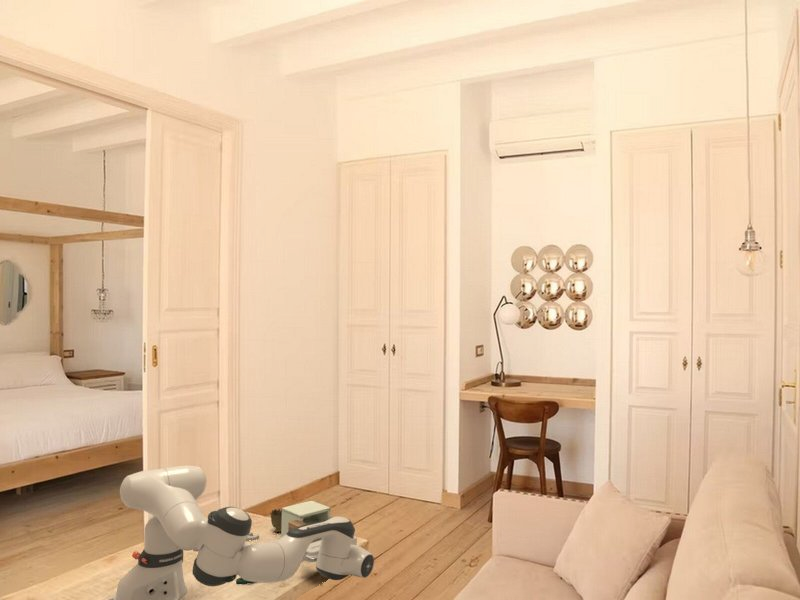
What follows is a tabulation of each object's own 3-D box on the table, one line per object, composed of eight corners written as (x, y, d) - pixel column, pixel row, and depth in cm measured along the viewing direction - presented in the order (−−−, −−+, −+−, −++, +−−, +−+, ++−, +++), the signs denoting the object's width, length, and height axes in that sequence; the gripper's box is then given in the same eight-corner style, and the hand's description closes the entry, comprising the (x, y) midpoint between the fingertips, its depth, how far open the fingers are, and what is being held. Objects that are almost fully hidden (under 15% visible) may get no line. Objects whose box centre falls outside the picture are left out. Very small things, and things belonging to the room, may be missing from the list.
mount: (238, 587, 208) (238, 571, 208) (234, 581, 211) (234, 566, 211) (270, 579, 213) (271, 564, 213) (265, 574, 217) (266, 559, 217)
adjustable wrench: (194, 553, 235) (194, 548, 235) (189, 547, 241) (189, 543, 241) (260, 540, 249) (260, 535, 249) (254, 535, 254) (254, 530, 254)
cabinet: (300, 552, 236) (301, 516, 236) (279, 542, 246) (280, 508, 246) (332, 542, 246) (332, 508, 247) (311, 533, 256) (311, 500, 256)
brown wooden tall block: (297, 560, 229) (297, 526, 229) (287, 555, 233) (287, 522, 233) (306, 557, 232) (307, 523, 232) (297, 552, 236) (297, 519, 236)
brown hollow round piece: (285, 535, 253) (285, 515, 253) (267, 534, 254) (267, 513, 255) (291, 528, 261) (291, 509, 261) (274, 527, 262) (274, 507, 262)
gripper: (311, 570, 210) (287, 557, 219) (359, 554, 224) (334, 543, 234) (312, 550, 210) (287, 539, 220) (360, 535, 224) (334, 525, 234)
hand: (312, 541), depth 227 cm, fingers open, 8 cm apart
